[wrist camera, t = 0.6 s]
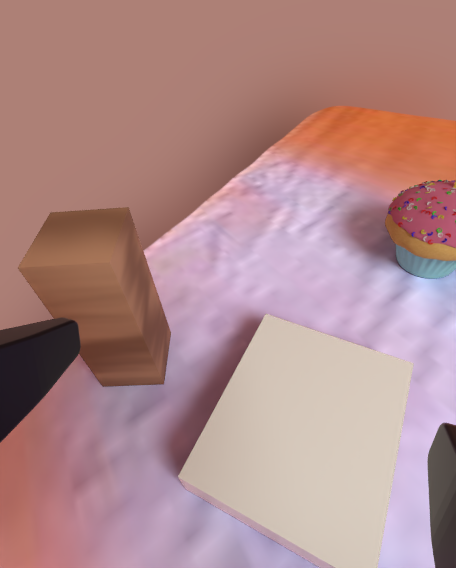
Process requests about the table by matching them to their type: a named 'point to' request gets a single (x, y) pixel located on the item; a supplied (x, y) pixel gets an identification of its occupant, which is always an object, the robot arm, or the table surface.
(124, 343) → the brown wooden block
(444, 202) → the cupcake
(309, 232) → the table surface
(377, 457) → the plate
